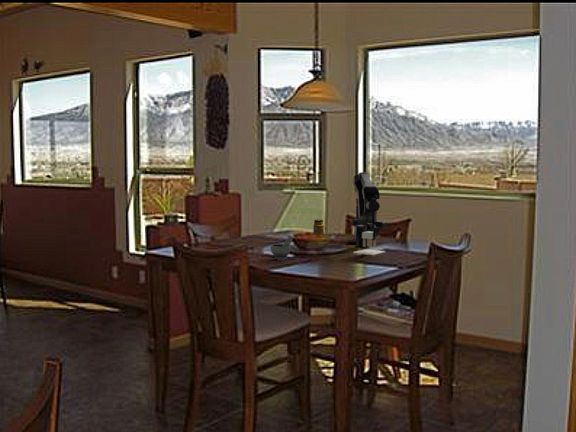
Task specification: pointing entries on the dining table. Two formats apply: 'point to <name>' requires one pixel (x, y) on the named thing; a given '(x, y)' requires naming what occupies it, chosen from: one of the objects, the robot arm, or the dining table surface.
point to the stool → (368, 239)
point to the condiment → (318, 227)
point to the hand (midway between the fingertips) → (369, 239)
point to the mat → (369, 252)
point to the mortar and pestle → (282, 249)
